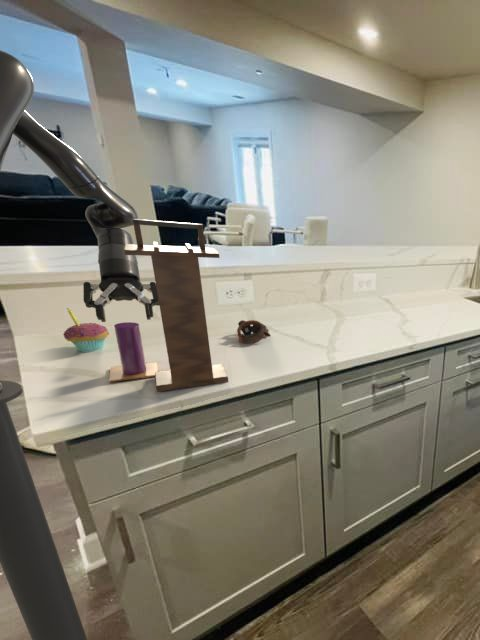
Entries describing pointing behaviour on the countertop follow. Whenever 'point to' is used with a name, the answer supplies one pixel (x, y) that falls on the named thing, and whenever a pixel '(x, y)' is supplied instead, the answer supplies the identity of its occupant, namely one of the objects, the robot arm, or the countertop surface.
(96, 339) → the cupcake
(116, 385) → the countertop surface
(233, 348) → the countertop surface
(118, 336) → the plum cup
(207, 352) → the stand
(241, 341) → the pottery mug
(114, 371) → the cork coaster
